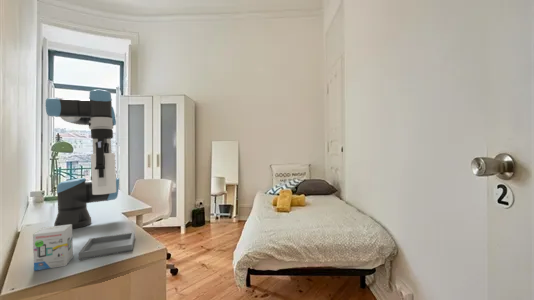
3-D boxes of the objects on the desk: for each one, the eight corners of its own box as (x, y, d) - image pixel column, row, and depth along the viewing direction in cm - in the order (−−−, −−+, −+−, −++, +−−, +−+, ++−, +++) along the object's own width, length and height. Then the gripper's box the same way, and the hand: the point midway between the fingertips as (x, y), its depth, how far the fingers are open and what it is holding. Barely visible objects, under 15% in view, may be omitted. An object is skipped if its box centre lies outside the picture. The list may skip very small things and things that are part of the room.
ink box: (33, 271, 82) (31, 234, 82) (43, 261, 89) (42, 227, 89) (66, 265, 85) (65, 230, 85) (73, 256, 93) (72, 223, 93)
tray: (89, 244, 104) (89, 238, 104) (134, 237, 110) (134, 232, 110) (79, 259, 89) (78, 253, 89) (131, 251, 95) (131, 244, 95)
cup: (105, 194, 101) (103, 153, 101) (87, 195, 103) (85, 154, 103) (121, 191, 109) (119, 152, 109) (104, 191, 111) (102, 153, 111)
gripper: (96, 131, 114) (98, 183, 114) (84, 125, 95) (87, 188, 95) (116, 131, 117) (118, 181, 117) (108, 125, 98) (110, 186, 98)
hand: (104, 184), depth 106 cm, fingers closed on cup, 8 cm apart
